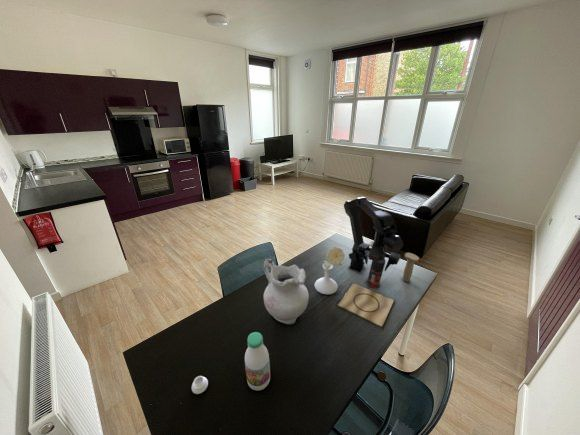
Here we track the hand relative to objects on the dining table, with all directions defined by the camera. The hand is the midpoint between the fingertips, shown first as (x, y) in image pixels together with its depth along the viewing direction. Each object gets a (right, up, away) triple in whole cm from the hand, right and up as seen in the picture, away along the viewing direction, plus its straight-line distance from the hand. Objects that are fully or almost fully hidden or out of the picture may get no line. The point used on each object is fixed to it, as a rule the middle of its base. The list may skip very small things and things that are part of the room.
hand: (375, 267), depth 118 cm
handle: (+18, -8, +7) cm, 21 cm away
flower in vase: (-24, -11, +1) cm, 26 cm away
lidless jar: (-72, -31, -40) cm, 88 cm away
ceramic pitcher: (-45, -17, -11) cm, 50 cm away
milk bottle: (-53, -30, -38) cm, 71 cm away
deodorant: (0, -9, +4) cm, 10 cm away
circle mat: (-7, -15, -8) cm, 18 cm away
